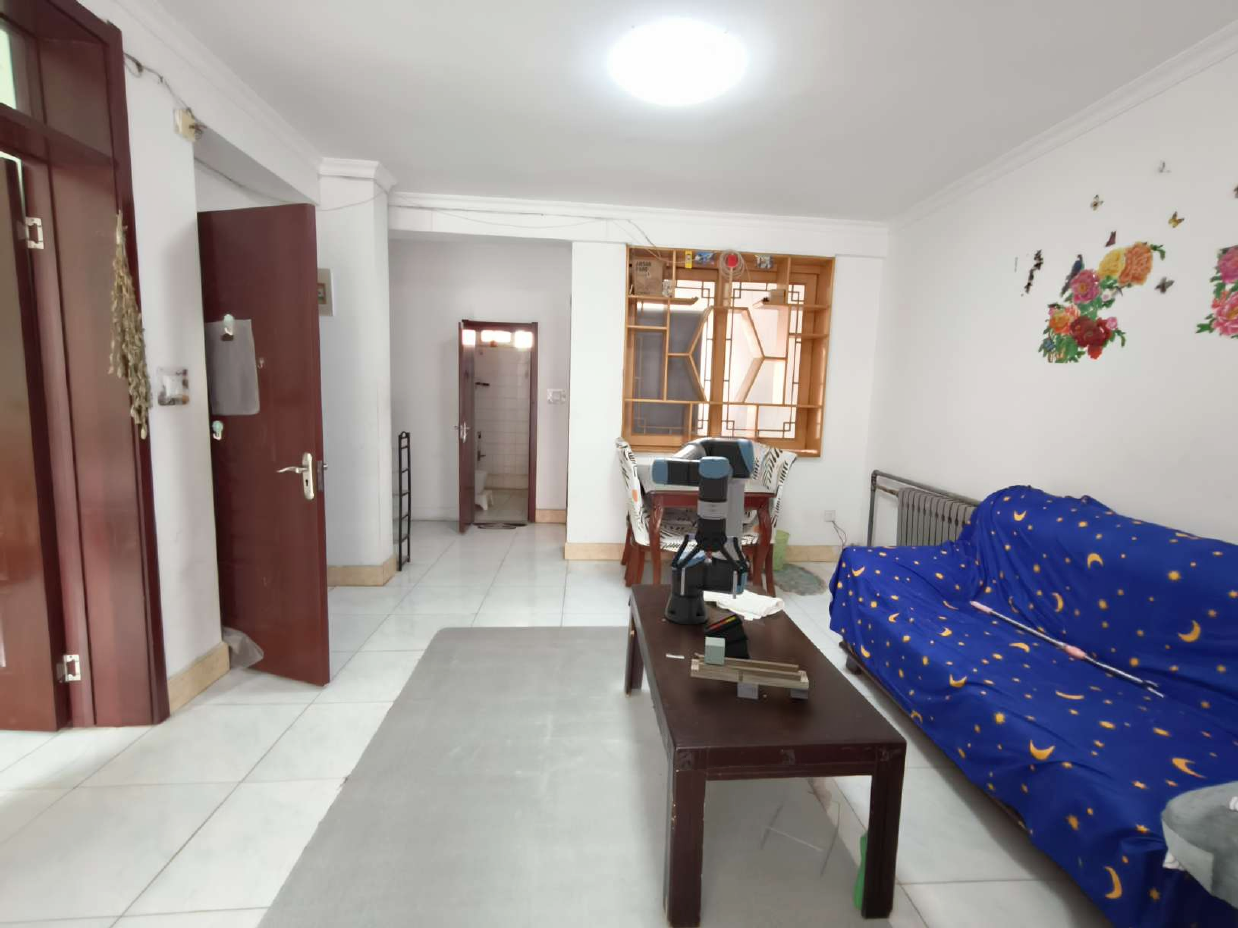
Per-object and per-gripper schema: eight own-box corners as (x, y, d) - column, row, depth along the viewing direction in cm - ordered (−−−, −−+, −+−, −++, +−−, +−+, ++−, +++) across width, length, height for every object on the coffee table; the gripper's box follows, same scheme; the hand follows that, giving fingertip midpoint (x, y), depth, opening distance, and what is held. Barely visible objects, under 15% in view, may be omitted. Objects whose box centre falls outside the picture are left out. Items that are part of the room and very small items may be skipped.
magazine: (759, 662, 158) (740, 617, 156) (718, 680, 158) (698, 635, 156) (756, 656, 162) (736, 612, 160) (715, 673, 162) (696, 630, 160)
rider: (704, 661, 149) (705, 636, 148) (723, 663, 148) (724, 638, 147) (704, 669, 144) (705, 644, 143) (723, 671, 143) (724, 646, 142)
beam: (691, 679, 151) (692, 653, 150) (803, 692, 145) (805, 665, 144) (689, 690, 144) (691, 663, 143) (807, 705, 139) (809, 676, 138)
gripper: (662, 516, 139) (660, 596, 141) (762, 522, 135) (758, 603, 138) (664, 510, 146) (662, 586, 149) (759, 516, 143) (755, 593, 145)
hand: (708, 595), depth 143 cm, fingers open, 13 cm apart
